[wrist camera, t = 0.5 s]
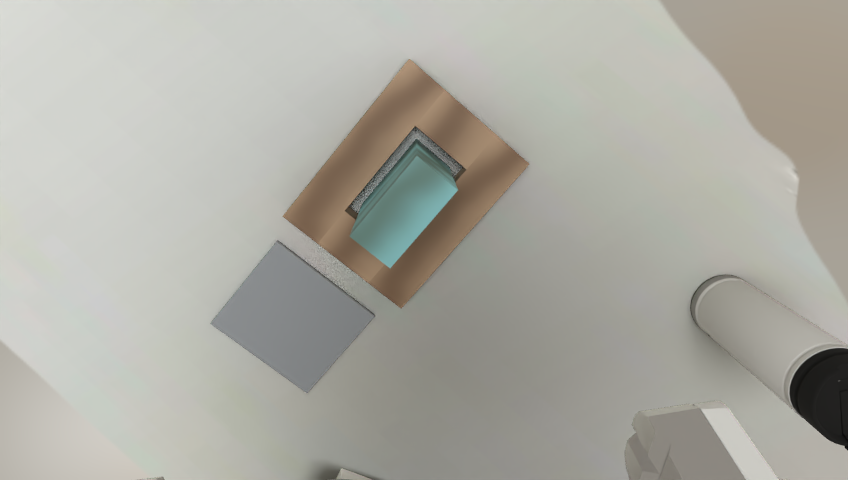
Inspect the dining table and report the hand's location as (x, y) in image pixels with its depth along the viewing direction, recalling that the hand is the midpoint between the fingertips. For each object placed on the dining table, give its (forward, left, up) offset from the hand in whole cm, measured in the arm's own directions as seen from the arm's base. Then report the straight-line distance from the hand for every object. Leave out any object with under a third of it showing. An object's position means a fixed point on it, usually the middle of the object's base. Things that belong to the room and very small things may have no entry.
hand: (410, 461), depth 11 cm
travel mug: (-34, -8, -48) cm, 59 cm away
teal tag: (-2, +3, -48) cm, 48 cm away
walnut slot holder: (-2, +3, -48) cm, 48 cm away
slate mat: (-2, +21, -48) cm, 52 cm away
